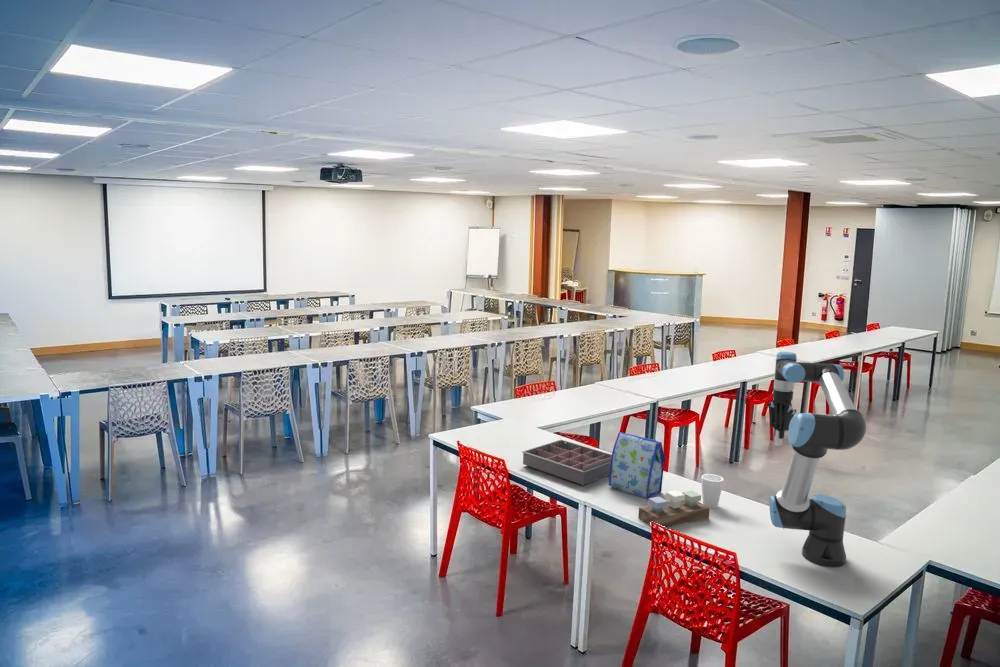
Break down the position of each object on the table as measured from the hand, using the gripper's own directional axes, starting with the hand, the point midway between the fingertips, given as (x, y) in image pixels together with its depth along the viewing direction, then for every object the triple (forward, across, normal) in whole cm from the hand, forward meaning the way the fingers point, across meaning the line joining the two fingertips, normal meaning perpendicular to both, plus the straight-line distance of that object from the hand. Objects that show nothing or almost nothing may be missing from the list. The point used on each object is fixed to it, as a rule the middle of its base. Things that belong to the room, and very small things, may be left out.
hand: (778, 445), depth 281 cm
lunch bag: (+35, +53, +30) cm, 70 cm away
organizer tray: (+35, +88, +44) cm, 104 cm away
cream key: (+29, +20, +35) cm, 50 cm away
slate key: (+31, +20, +44) cm, 57 cm away
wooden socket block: (+34, +20, +35) cm, 53 cm away
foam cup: (+35, +25, +10) cm, 44 cm away
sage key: (+31, +20, +26) cm, 45 cm away
